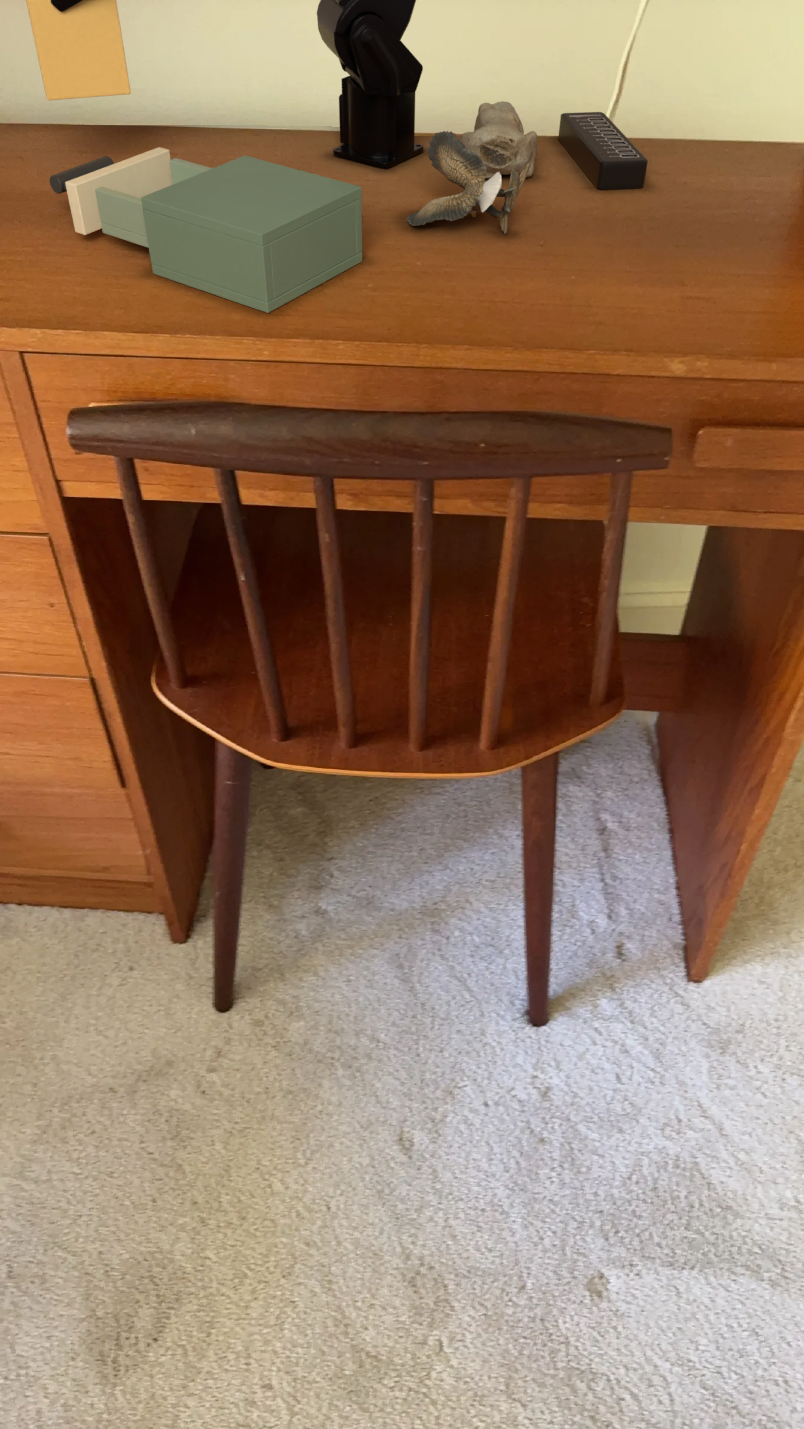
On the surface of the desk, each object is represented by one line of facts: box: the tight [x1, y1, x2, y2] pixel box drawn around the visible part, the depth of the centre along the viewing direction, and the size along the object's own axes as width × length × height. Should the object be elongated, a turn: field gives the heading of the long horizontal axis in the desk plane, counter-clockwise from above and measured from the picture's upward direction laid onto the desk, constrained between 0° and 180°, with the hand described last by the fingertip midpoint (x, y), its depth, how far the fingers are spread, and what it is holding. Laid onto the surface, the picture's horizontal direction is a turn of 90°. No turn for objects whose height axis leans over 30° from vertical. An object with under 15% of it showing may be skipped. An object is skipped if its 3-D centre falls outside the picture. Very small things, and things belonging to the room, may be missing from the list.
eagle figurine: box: [406, 130, 530, 235], centre depth 86 cm, size 8×7×9 cm
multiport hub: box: [557, 111, 649, 191], centre depth 98 cm, size 4×14×2 cm, turn 9°
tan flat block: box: [25, 0, 132, 101], centre depth 86 cm, size 7×2×10 cm, turn 107°
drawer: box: [49, 146, 214, 249], centre depth 84 cm, size 15×10×4 cm
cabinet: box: [141, 155, 363, 314], centre depth 79 cm, size 12×12×6 cm
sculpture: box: [459, 100, 538, 180], centre depth 97 cm, size 7×5×15 cm
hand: (54, 2), depth 84 cm, fingers closed on tan flat block, 2 cm apart
